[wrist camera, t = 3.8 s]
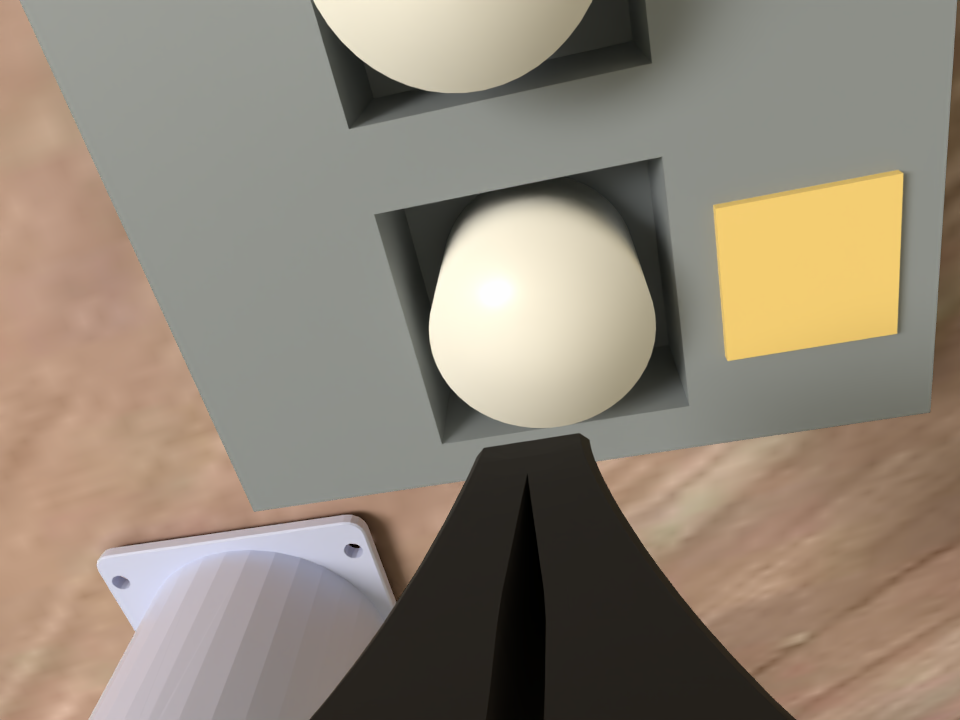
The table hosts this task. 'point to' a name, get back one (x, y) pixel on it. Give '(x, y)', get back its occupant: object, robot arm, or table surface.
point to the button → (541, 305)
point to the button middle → (453, 38)
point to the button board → (507, 163)
